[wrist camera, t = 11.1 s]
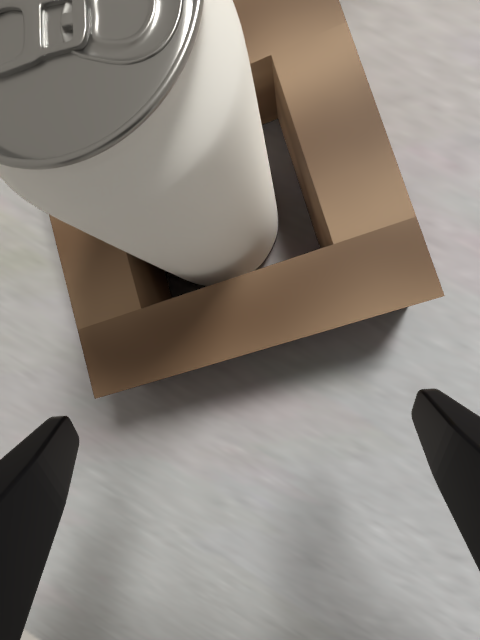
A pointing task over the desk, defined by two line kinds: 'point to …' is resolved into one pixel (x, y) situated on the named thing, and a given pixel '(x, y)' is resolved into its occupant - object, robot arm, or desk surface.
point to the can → (139, 129)
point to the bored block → (287, 276)
